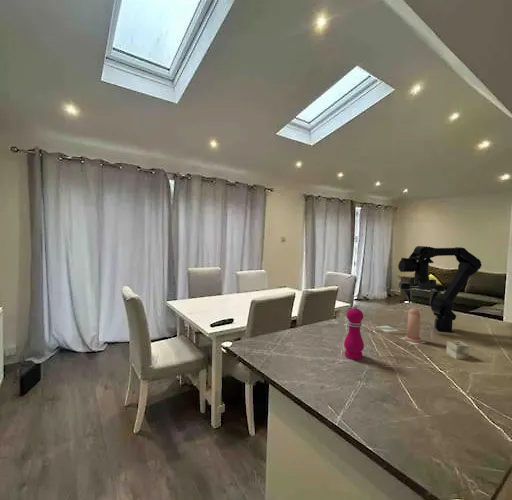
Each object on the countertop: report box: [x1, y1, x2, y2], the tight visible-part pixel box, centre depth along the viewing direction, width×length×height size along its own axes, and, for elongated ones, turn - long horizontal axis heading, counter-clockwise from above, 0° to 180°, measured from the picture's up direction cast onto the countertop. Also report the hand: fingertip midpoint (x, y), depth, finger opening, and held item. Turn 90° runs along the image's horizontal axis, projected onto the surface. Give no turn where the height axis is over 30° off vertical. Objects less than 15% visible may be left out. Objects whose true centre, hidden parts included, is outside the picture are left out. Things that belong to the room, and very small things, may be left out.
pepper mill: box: [343, 304, 365, 361], centre depth 111 cm, size 7×7×20 cm
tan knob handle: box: [404, 307, 422, 344], centre depth 128 cm, size 6×6×14 cm
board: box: [375, 325, 427, 347], centre depth 136 cm, size 25×9×1 cm, turn 17°
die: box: [446, 340, 470, 360], centre depth 113 cm, size 5×5×5 cm
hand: (420, 304), depth 142 cm, fingers open, 9 cm apart
